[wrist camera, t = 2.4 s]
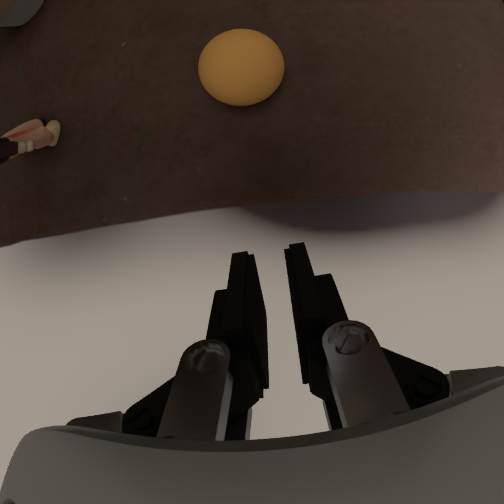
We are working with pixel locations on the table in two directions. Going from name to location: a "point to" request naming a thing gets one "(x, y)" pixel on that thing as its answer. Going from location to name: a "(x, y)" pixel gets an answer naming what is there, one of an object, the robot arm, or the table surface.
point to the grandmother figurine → (28, 138)
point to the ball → (241, 67)
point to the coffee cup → (18, 11)
